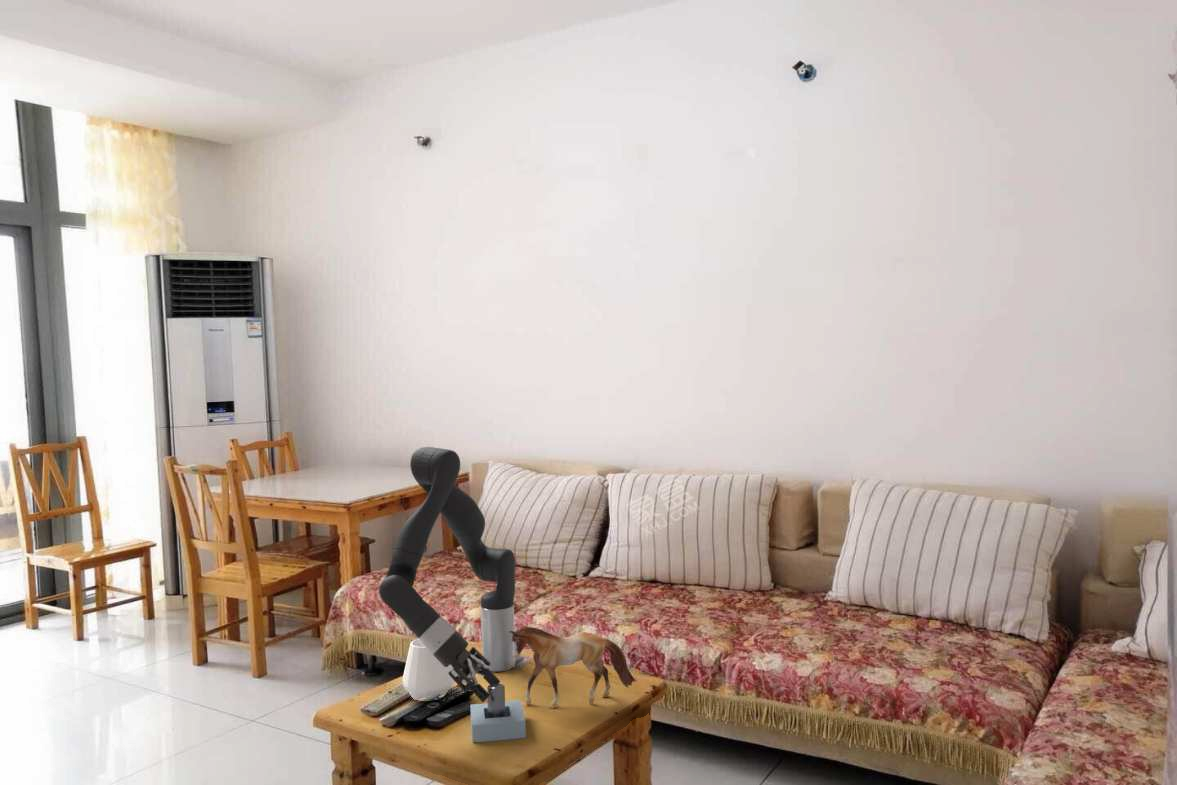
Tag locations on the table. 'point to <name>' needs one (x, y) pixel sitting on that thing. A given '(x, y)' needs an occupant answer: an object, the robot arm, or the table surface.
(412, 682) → the white tapered hollow vessel
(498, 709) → the pin
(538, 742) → the table surface
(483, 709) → the socket block
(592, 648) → the horse figurine
